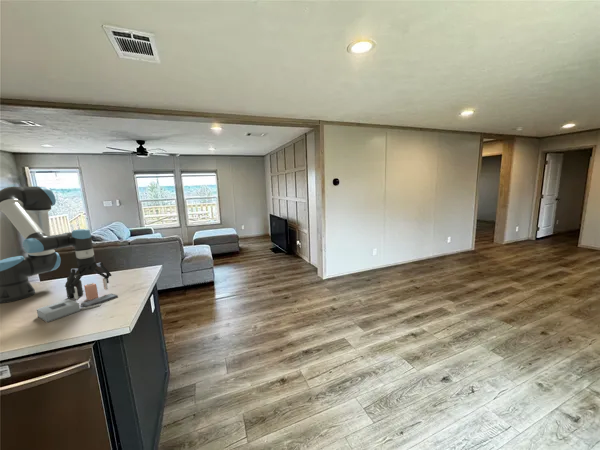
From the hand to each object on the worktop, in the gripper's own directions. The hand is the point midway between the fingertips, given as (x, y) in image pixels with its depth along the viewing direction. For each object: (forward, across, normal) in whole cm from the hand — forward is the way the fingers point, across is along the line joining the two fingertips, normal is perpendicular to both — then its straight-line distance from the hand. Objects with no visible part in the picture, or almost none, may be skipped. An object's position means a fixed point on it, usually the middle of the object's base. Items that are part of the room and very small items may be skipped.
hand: (91, 293), depth 136 cm
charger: (+3, 0, 0) cm, 3 cm away
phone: (+3, 0, -9) cm, 9 cm away
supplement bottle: (+3, -3, +13) cm, 14 cm away
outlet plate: (+3, -16, -7) cm, 18 cm away
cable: (+3, -6, -14) cm, 15 cm away
